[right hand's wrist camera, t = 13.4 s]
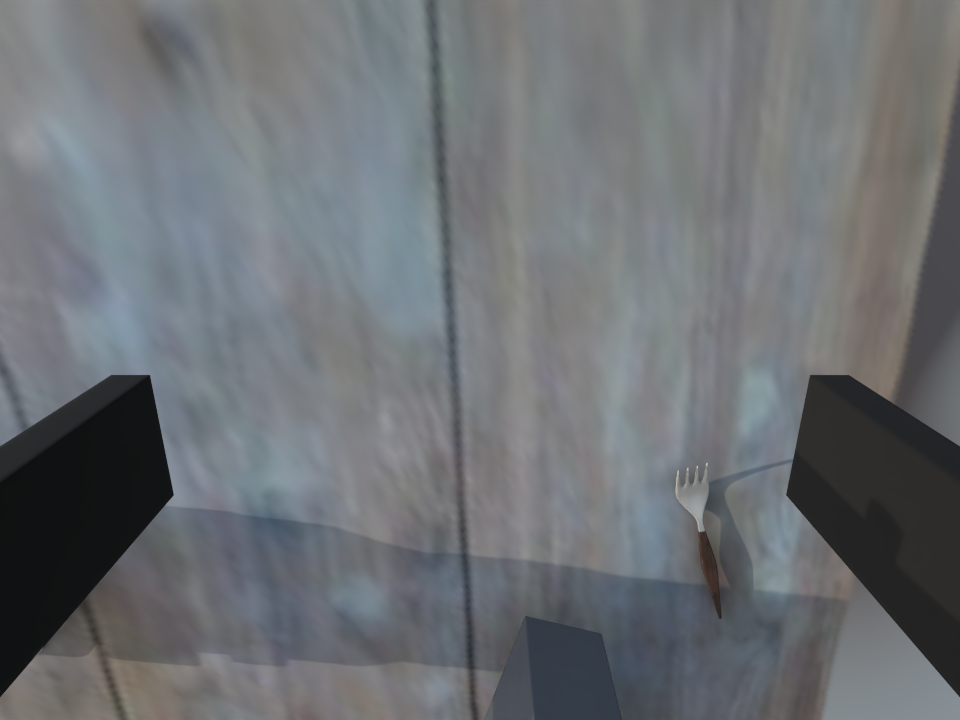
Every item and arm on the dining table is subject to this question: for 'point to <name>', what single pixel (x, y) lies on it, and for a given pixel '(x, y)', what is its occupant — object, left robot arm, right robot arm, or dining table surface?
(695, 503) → the fork
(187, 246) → the dining table surface
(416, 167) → the dining table surface
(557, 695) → the box
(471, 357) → the dining table surface
